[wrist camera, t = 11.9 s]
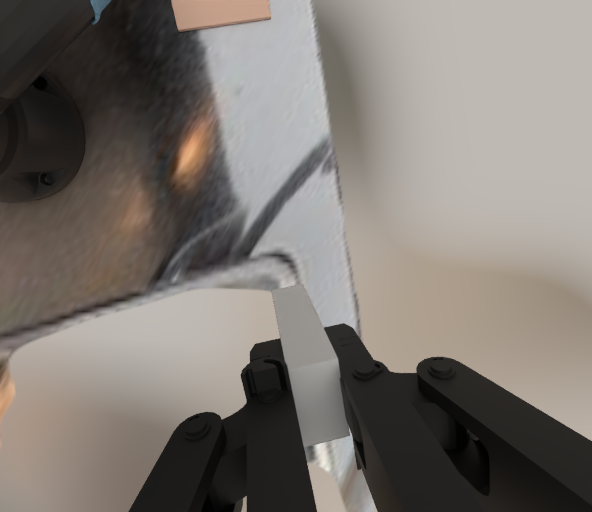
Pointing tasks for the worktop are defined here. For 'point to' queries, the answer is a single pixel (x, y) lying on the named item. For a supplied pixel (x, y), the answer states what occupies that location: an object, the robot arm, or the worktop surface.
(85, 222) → the worktop surface
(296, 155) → the worktop surface
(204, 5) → the mat
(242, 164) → the worktop surface
